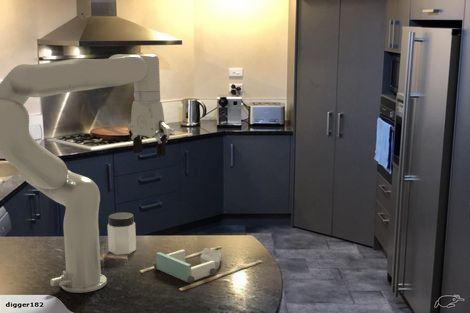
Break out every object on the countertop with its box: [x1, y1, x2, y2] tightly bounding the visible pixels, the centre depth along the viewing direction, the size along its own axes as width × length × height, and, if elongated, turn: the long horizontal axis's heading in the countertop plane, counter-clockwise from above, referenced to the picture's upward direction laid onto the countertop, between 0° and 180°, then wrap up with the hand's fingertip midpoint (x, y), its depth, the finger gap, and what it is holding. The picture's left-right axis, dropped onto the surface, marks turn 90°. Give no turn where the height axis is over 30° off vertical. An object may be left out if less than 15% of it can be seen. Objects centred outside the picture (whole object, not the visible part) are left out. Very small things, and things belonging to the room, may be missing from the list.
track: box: [139, 245, 263, 292], centre depth 191 cm, size 32×20×1 cm, turn 133°
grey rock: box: [199, 247, 223, 270], centre depth 193 cm, size 10×6×6 cm, turn 170°
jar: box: [107, 212, 137, 256], centre depth 205 cm, size 9×8×12 cm
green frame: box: [153, 249, 218, 284], centre depth 186 cm, size 11×17×5 cm, turn 43°
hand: (149, 154), depth 186 cm, fingers open, 9 cm apart
